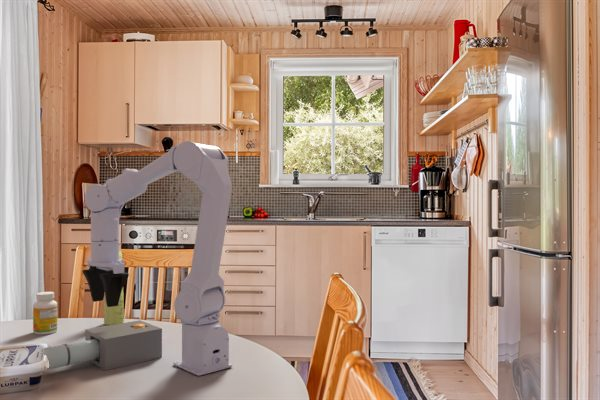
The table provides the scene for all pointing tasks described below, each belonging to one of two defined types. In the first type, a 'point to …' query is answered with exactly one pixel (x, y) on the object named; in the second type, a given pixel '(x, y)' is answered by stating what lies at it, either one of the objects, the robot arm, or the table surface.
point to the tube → (115, 309)
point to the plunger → (138, 326)
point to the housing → (126, 344)
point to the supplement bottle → (45, 314)
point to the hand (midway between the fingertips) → (105, 303)
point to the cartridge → (72, 353)
